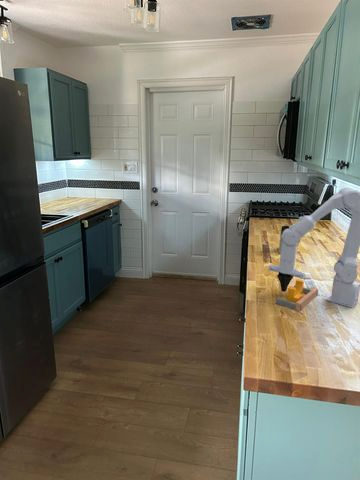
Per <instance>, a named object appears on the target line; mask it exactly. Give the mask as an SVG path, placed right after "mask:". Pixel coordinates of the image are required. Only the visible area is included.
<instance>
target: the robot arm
mask: <svg viewBox="0 0 360 480" xmlns="http://www.w3.org/2000/svg"><path fill="white" fill-rule="evenodd" d="M344 206H345V207H346V208H347V209H348V211H349V212H350V213H351V219H350V223H349V227H348V229H347V233H346V238H345V241H344V245H343V250H342V253H341V254H340V255H339V256H338V259H337V261H336V262H335V263H334V264H333V271H334V272H335V274H334V276H333V279H332V280H333V281H332V287H331V294H330V295H329V297H328V298H327V300H326V301H328V302H331V303H335V304H338V305H342V306H344V307H349V308H354V307H355V306H356V305H357V303H358V302H359V296H360V283H359V282H356V280H357V278H358V274H359V273H358V259H357V258H358V254H359V251H360V191H359V190H355V189H353V188H350V187H343V188H341V189H340V190H339V191H338V192H336V193H334V194H333V195H332V196H331V197H330V198H328V200H326V201H324V203H323V204H322V205H320V206H319V207H318V208H317V209H315V210H314V212H313V213H311V214H310V215H303V216H300V217H298V220H297V221H296V222H295V223H294V224H292V225H288V226H289V229H286V230H284V231H283V233H282V234H281V233H280V235H281V237H282V239H283V241H282V247H281V253H279V254H280V256H279V265H273V264H269V265H268V267H267V271H270V272H271V271H272V272H276V273H278V274H277V275H276V277H277V279H278V281H279V284H280V291H281V292H283V293H286V292H287V291H288V288H289V286H290V285H289V284H290V283H291V281H292V280H293V279H294V278H297V279H300V280H304V279H305V278H306V273H305V272H301V271H299V270H296V269H295V265H296V264H295V263H296V255H297V247H296V245H297V244H298V242H299V239H300V238H301V239H302V238H303V237H304V236H305V235H307V234H308V233H309V232H310V231H312V230H313V229H314V228H316V225H317V224H316V223H317V222H318V221H319V220H321V219H323V218H324V217H326V216H327V215H328V214H330V213H331V212H333V211H334V210H338V209H339V210H340V209H341V210H342V209H345V207H344Z"/></svg>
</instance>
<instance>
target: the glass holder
mask: <svg viewBox="0 0 360 480" xmlns="http://www.w3.org/2000/svg"><path fill="white" fill-rule="evenodd" d="M289 226H290V225H282V226H281V232H280V237H279V248H278V251H277V253H278V252H279V253H278V254H281V247H282V241H283V239H282V237H281V234H282V233H283V231H284V230H286V229H289ZM301 239H302V237H301V238H300V239H299V242H298V243H297V245H296V248H297V247H298V246H299V244H300V243H301V241H302V240H301Z"/></svg>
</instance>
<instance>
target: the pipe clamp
mask: <svg viewBox="0 0 360 480" xmlns="http://www.w3.org/2000/svg"><path fill="white" fill-rule="evenodd" d="M304 282H305V280H304V279H300V278H297V279H296V280H295V284H294V285H295V287H294V286H288V287H287V291H286V294H287V295H286V300H287V301H290V302H293V303H296V302H298V301H299V300H300V299H301V298H303V297H304V295H303V293H302V292H303V287H304V284H305V283H304Z"/></svg>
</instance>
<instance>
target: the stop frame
mask: <svg viewBox="0 0 360 480" xmlns="http://www.w3.org/2000/svg"><path fill="white" fill-rule="evenodd" d="M293 287H295V284H294V285H293ZM302 294H305V295H303V298H301V299H300V300H299V301H298V302H296V303H293V302H290V301H287V299H283V298H280V297H276V298H275V304H277V305H279V306H283V307H286V308H288V309H292V310H295V311H297V312H300V311H302V310H303V309H304V308H305V307H306V306H307V305H308V304H309V303H311V302H312V301H313V300H314V299H316V298H317V296H319V288H317V287H313V288H312V289H311V288H309V287H308V288H307V287H304V286H303V292H302Z"/></svg>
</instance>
